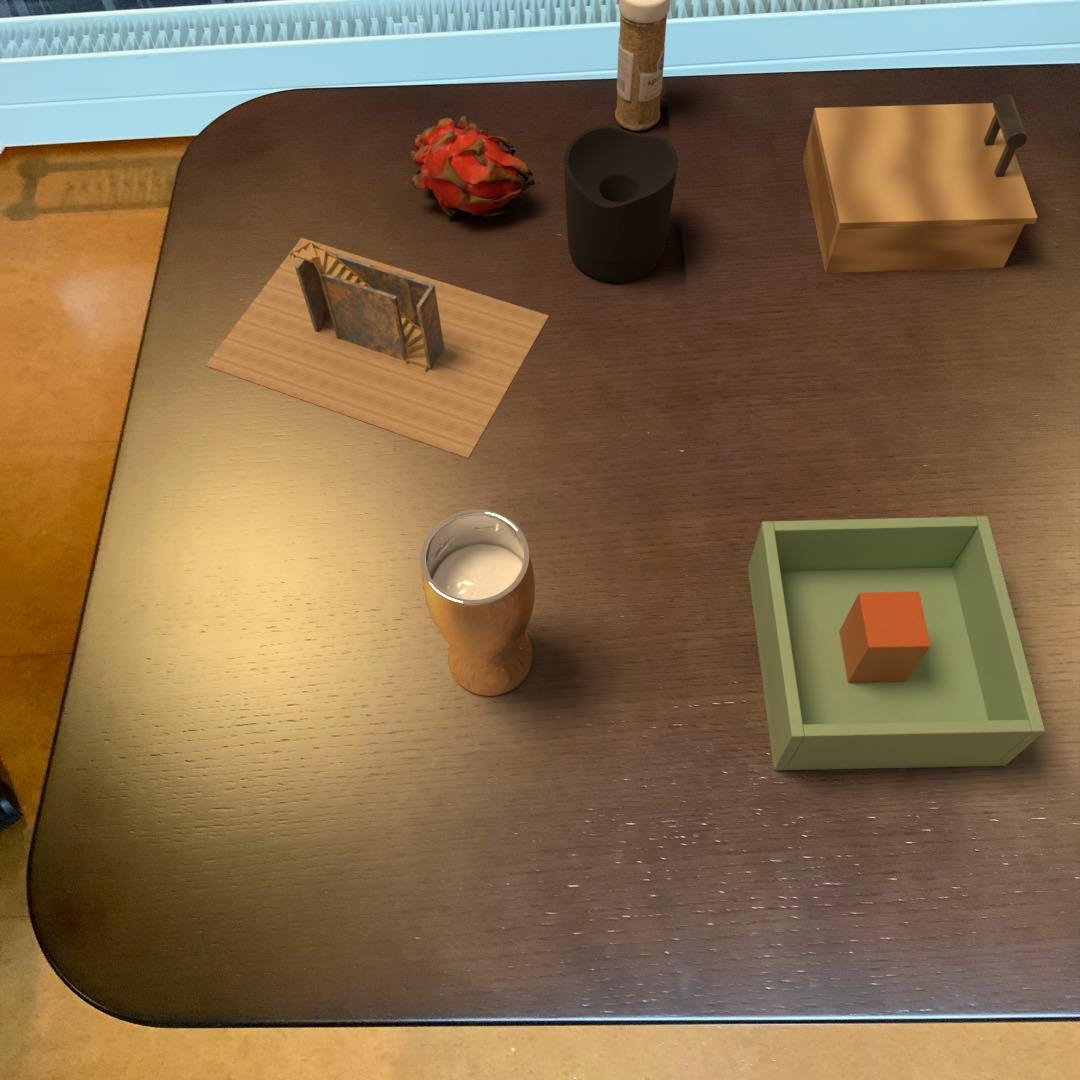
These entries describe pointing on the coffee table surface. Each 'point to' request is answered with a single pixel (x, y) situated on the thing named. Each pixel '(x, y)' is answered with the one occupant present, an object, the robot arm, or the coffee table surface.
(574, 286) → the coffee table surface
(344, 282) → the architectural model on board
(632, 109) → the spice jar
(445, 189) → the dragon fruit
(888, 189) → the lid
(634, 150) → the pen holder
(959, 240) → the chest
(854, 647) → the block
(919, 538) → the open box
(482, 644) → the beer glass
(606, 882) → the coffee table surface
